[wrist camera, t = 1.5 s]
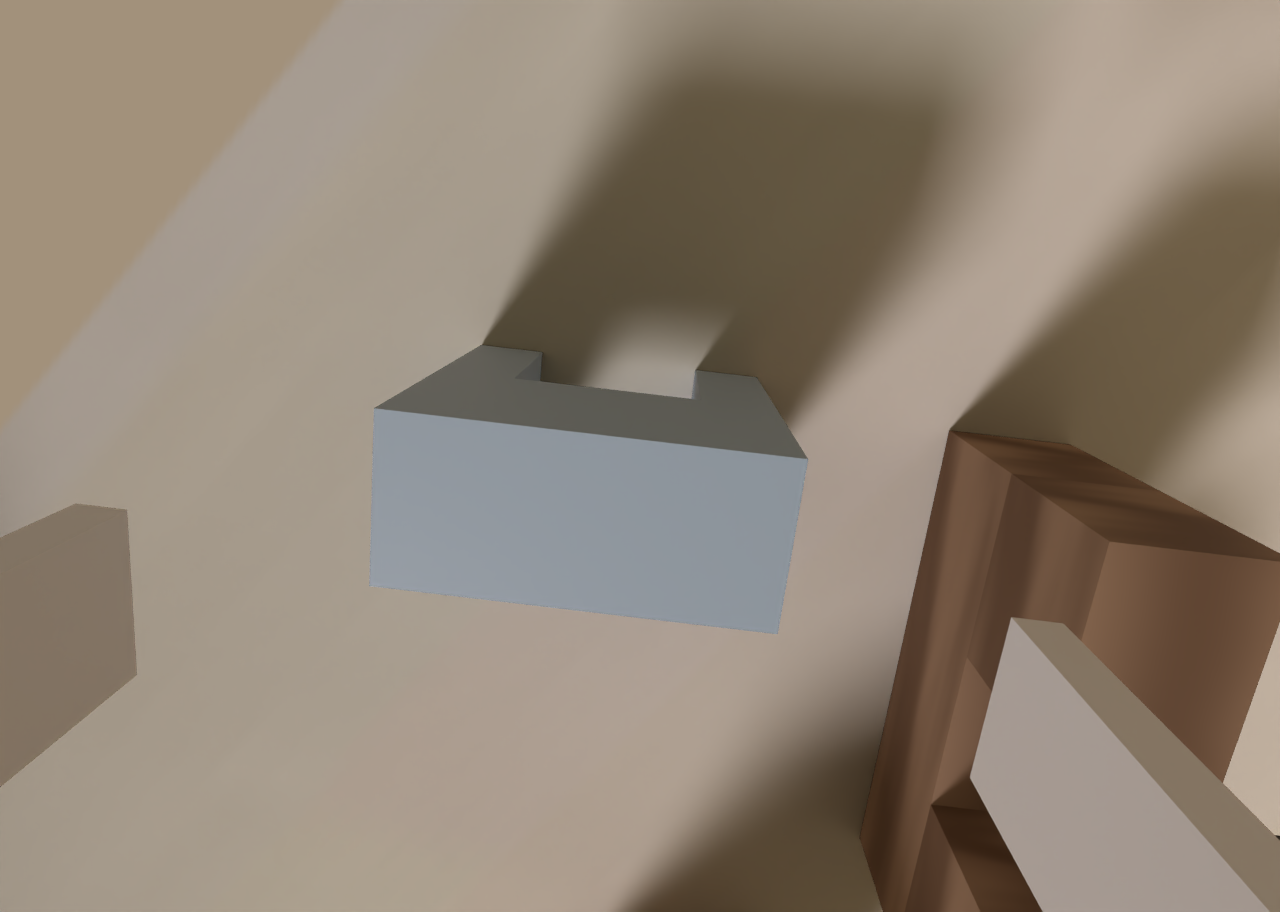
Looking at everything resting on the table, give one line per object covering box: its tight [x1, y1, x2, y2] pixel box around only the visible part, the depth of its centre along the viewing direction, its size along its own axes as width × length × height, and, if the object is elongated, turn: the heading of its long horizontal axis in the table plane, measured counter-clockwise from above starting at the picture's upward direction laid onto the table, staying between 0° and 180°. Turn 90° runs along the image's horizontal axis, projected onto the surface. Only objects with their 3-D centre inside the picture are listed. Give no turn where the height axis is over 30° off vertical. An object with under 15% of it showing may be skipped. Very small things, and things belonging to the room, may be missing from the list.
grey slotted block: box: [369, 345, 808, 634], centre depth 22 cm, size 9×4×10 cm, turn 84°
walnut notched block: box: [860, 431, 1280, 912], centre depth 24 cm, size 4×16×10 cm, turn 174°
